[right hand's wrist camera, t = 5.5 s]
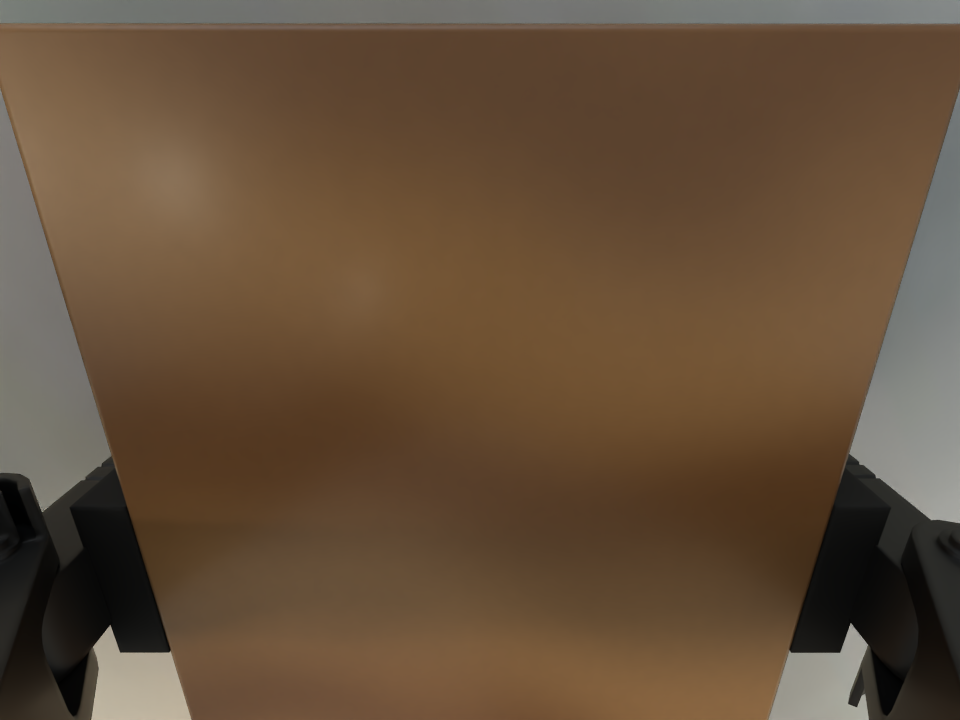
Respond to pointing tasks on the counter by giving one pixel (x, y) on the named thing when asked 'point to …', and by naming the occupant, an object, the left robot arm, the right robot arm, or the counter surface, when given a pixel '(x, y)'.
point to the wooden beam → (479, 341)
